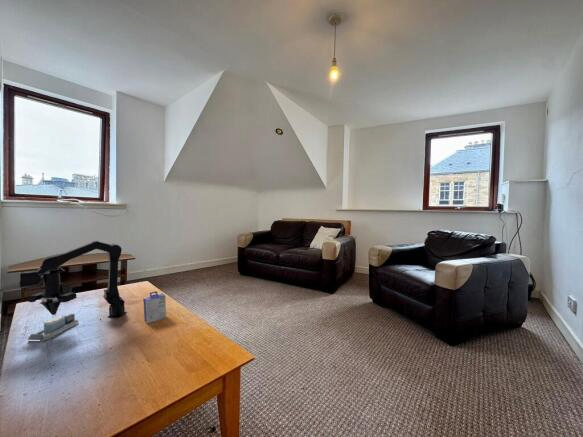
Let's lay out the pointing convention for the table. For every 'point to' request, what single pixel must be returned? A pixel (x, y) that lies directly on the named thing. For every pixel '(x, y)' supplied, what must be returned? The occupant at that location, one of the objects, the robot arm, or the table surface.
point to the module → (54, 324)
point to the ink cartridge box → (154, 307)
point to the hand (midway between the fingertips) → (54, 314)
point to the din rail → (43, 336)
